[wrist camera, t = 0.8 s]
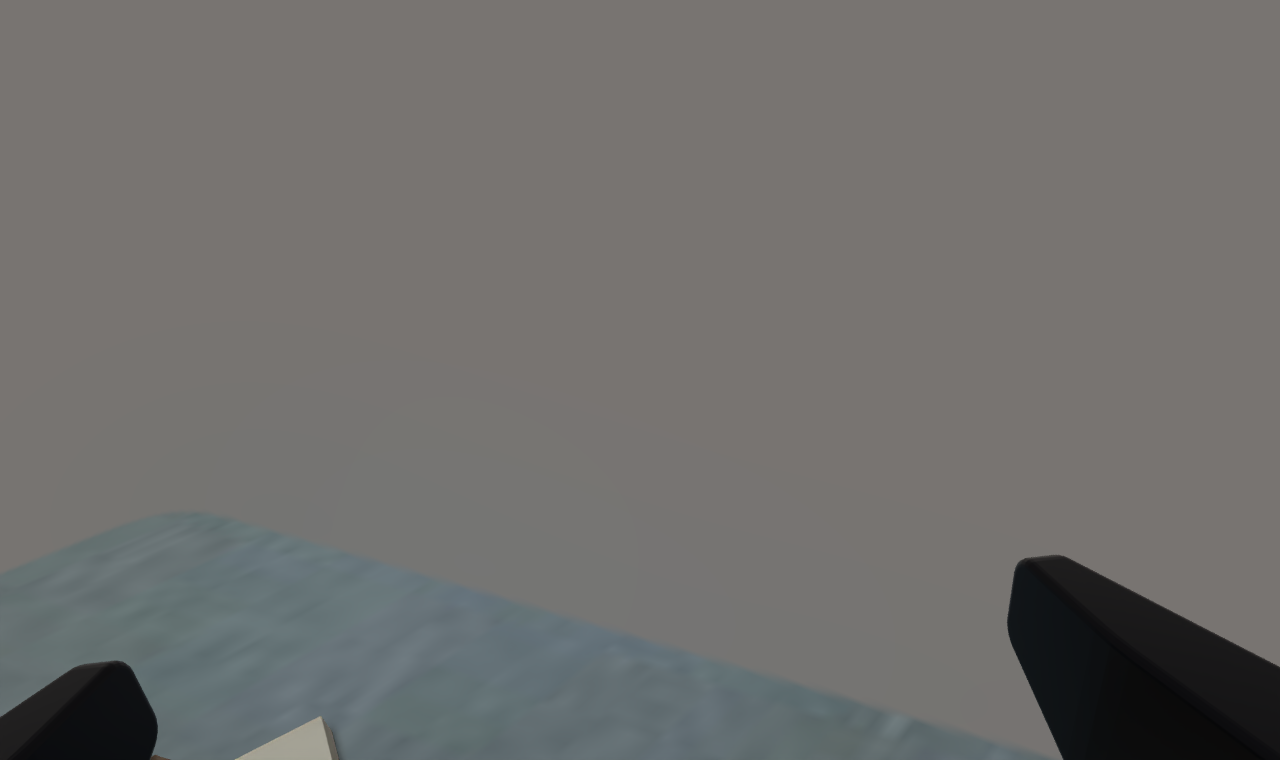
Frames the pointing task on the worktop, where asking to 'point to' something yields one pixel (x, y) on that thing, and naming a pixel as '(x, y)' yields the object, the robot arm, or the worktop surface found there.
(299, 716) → the worktop surface
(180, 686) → the worktop surface
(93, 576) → the worktop surface
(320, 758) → the socket plate
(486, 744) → the worktop surface
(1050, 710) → the robot arm
